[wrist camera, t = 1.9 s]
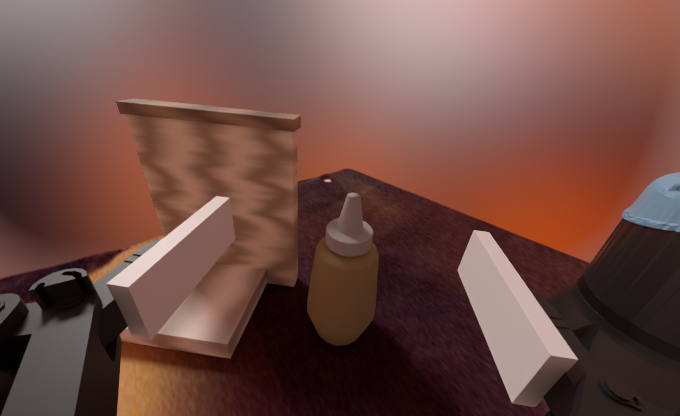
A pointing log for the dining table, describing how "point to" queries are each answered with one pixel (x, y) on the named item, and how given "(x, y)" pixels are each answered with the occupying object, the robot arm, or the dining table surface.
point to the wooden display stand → (246, 204)
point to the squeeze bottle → (344, 277)
